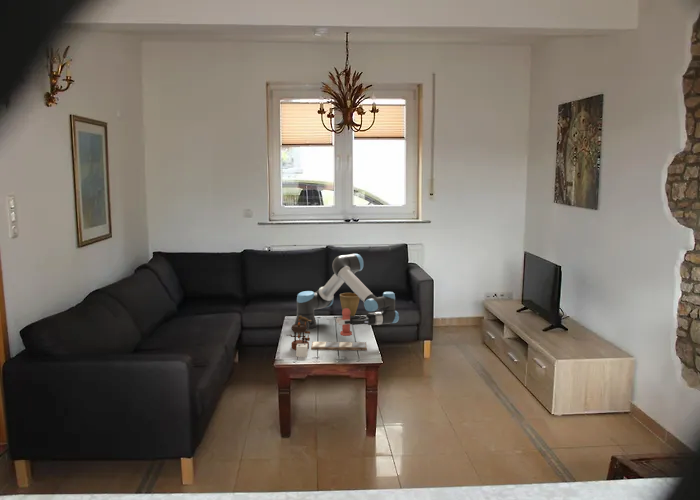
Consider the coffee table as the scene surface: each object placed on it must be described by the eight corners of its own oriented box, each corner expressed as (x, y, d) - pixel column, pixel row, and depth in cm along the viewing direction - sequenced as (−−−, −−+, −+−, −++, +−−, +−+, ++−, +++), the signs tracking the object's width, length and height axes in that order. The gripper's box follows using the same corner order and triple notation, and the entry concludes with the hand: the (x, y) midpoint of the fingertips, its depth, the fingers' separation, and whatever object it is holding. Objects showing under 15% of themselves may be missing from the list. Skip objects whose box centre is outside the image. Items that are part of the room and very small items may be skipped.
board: (311, 349, 352) (311, 347, 352) (312, 343, 364) (312, 341, 364) (366, 350, 352) (366, 347, 352) (366, 344, 364) (366, 341, 364)
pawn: (340, 335, 353) (340, 309, 351) (340, 332, 360) (340, 306, 358) (351, 336, 353) (352, 309, 351) (351, 332, 360) (352, 306, 358)
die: (296, 356, 338) (296, 346, 337) (297, 353, 344) (297, 343, 343) (306, 356, 338) (306, 346, 337) (307, 353, 344) (307, 343, 343)
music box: (311, 344, 362) (311, 313, 357) (311, 351, 351) (312, 319, 347) (286, 345, 360) (286, 313, 356) (285, 352, 350) (285, 319, 345)
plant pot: (353, 319, 424) (354, 297, 422) (335, 316, 431) (336, 295, 429) (363, 315, 437) (363, 294, 435) (345, 312, 444) (345, 291, 442)
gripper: (379, 328, 354) (342, 331, 346) (368, 321, 371) (333, 324, 363) (379, 315, 353) (342, 318, 345) (368, 309, 370) (333, 312, 362)
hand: (337, 321), depth 354 cm, fingers closed on pawn, 4 cm apart
